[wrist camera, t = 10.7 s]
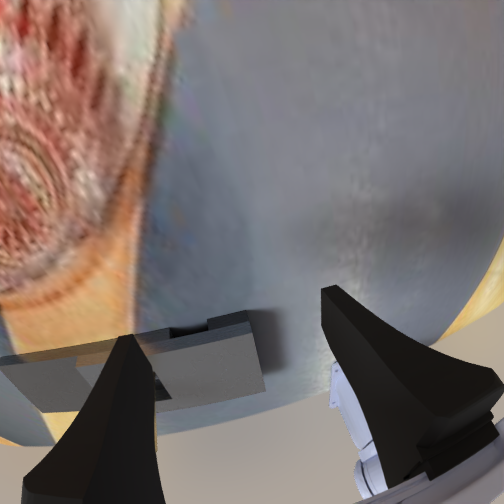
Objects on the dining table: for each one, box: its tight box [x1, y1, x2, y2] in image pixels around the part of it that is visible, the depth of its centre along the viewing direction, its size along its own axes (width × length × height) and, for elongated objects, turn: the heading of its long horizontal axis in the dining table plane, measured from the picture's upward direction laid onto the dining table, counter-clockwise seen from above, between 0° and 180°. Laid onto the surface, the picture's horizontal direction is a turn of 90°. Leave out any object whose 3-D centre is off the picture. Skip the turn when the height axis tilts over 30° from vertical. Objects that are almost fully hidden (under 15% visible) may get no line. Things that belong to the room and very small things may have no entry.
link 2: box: [75, 310, 266, 413], centre depth 25 cm, size 8×14×2 cm, turn 99°
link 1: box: [0, 328, 174, 413], centre depth 25 cm, size 8×18×1 cm, turn 99°
